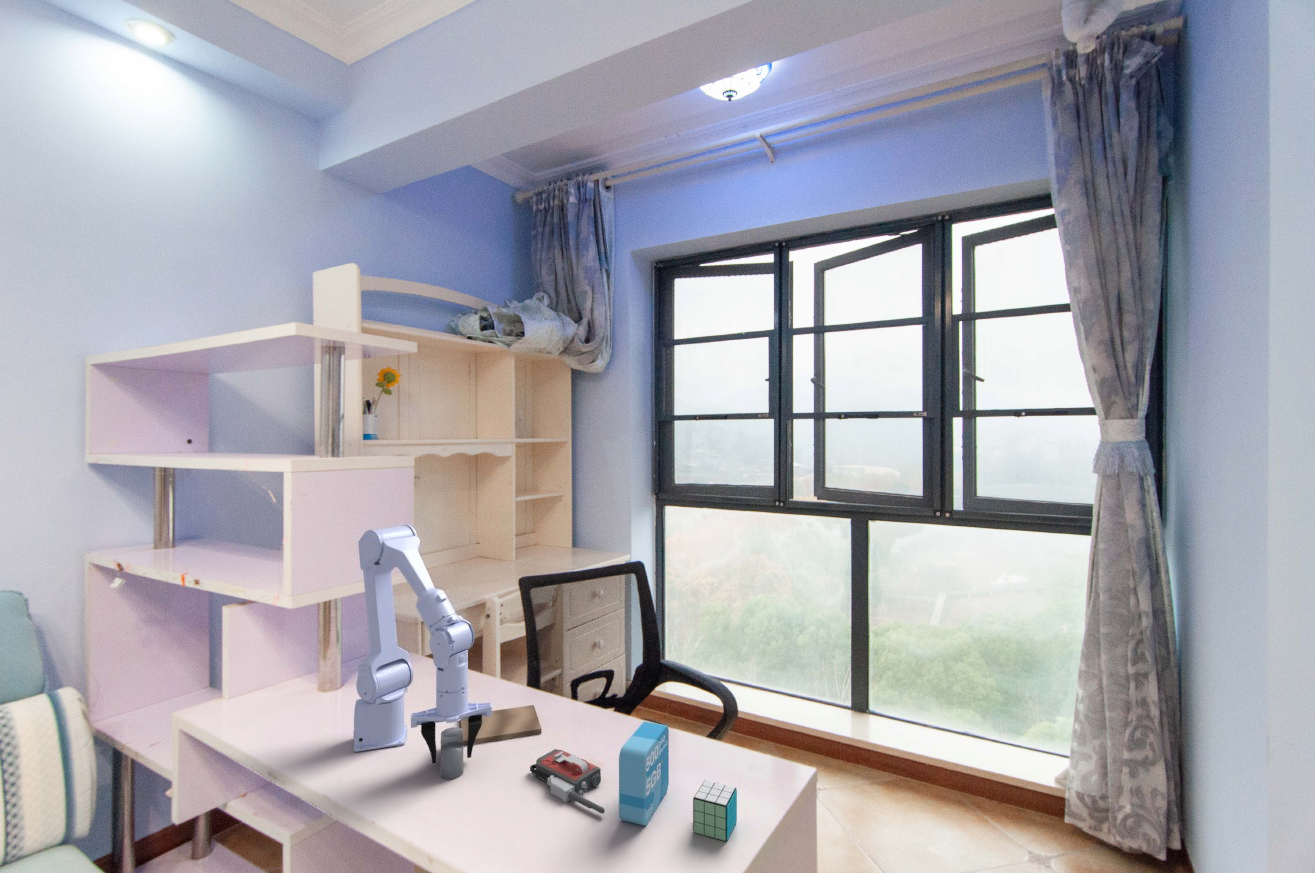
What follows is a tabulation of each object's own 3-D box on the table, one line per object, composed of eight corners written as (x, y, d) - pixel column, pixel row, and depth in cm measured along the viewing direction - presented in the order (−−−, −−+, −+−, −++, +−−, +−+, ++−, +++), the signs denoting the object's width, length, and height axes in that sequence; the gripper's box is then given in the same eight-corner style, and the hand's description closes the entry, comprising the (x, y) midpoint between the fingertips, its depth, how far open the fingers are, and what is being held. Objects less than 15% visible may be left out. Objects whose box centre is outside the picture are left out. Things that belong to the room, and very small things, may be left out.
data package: (644, 830, 96) (644, 755, 96) (618, 823, 98) (618, 749, 98) (669, 789, 107) (669, 721, 107) (645, 784, 109) (645, 717, 109)
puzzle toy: (727, 842, 93) (727, 806, 93) (692, 833, 96) (692, 797, 96) (737, 821, 98) (737, 786, 98) (704, 812, 101) (704, 778, 101)
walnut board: (462, 745, 122) (462, 740, 122) (460, 719, 134) (460, 715, 134) (541, 733, 128) (541, 728, 128) (533, 709, 139) (533, 704, 139)
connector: (440, 781, 110) (440, 753, 110) (441, 747, 122) (441, 722, 122) (463, 777, 111) (463, 750, 111) (462, 744, 123) (462, 719, 123)
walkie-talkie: (520, 780, 111) (599, 823, 98) (520, 756, 111) (599, 796, 98) (556, 760, 118) (634, 797, 105) (556, 737, 118) (634, 772, 105)
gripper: (409, 700, 109) (409, 775, 109) (492, 689, 114) (492, 761, 114) (412, 685, 116) (411, 756, 116) (490, 675, 120) (490, 743, 120)
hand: (451, 757), depth 115 cm, fingers open, 6 cm apart
